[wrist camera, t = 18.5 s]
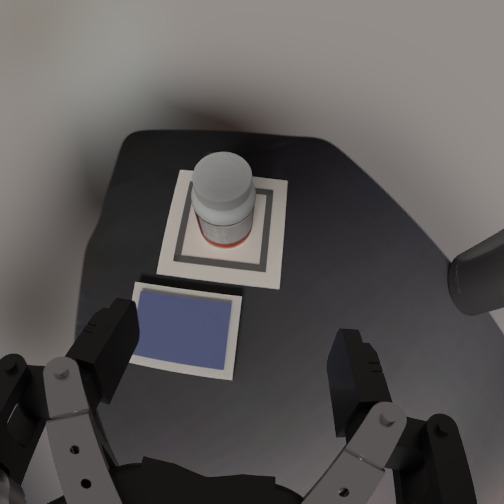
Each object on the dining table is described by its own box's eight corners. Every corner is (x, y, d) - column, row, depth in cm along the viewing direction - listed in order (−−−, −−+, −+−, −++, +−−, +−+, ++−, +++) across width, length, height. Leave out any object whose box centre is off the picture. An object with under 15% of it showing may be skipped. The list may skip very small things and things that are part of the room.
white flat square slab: (287, 181, 39) (287, 180, 38) (279, 289, 34) (279, 288, 34) (180, 170, 38) (180, 169, 38) (156, 274, 34) (156, 273, 34)
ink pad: (241, 298, 34) (242, 295, 32) (232, 379, 31) (232, 380, 29) (138, 284, 33) (133, 280, 32) (126, 360, 31) (121, 361, 29)
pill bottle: (208, 198, 37) (198, 140, 26) (257, 209, 37) (265, 153, 26) (193, 244, 35) (175, 198, 24) (245, 256, 35) (248, 214, 24)
